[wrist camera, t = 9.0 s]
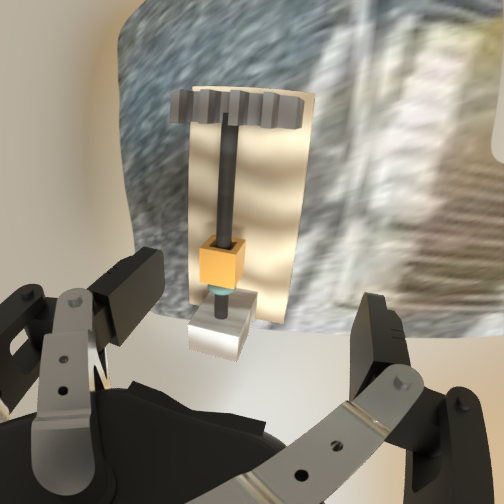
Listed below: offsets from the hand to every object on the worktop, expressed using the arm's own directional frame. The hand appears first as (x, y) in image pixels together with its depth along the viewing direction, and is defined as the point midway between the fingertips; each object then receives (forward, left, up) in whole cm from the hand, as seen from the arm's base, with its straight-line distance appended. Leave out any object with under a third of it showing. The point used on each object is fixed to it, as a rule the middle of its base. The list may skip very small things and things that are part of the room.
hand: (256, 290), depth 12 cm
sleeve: (+9, -7, -20) cm, 23 cm away
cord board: (+6, -7, -26) cm, 28 cm away
